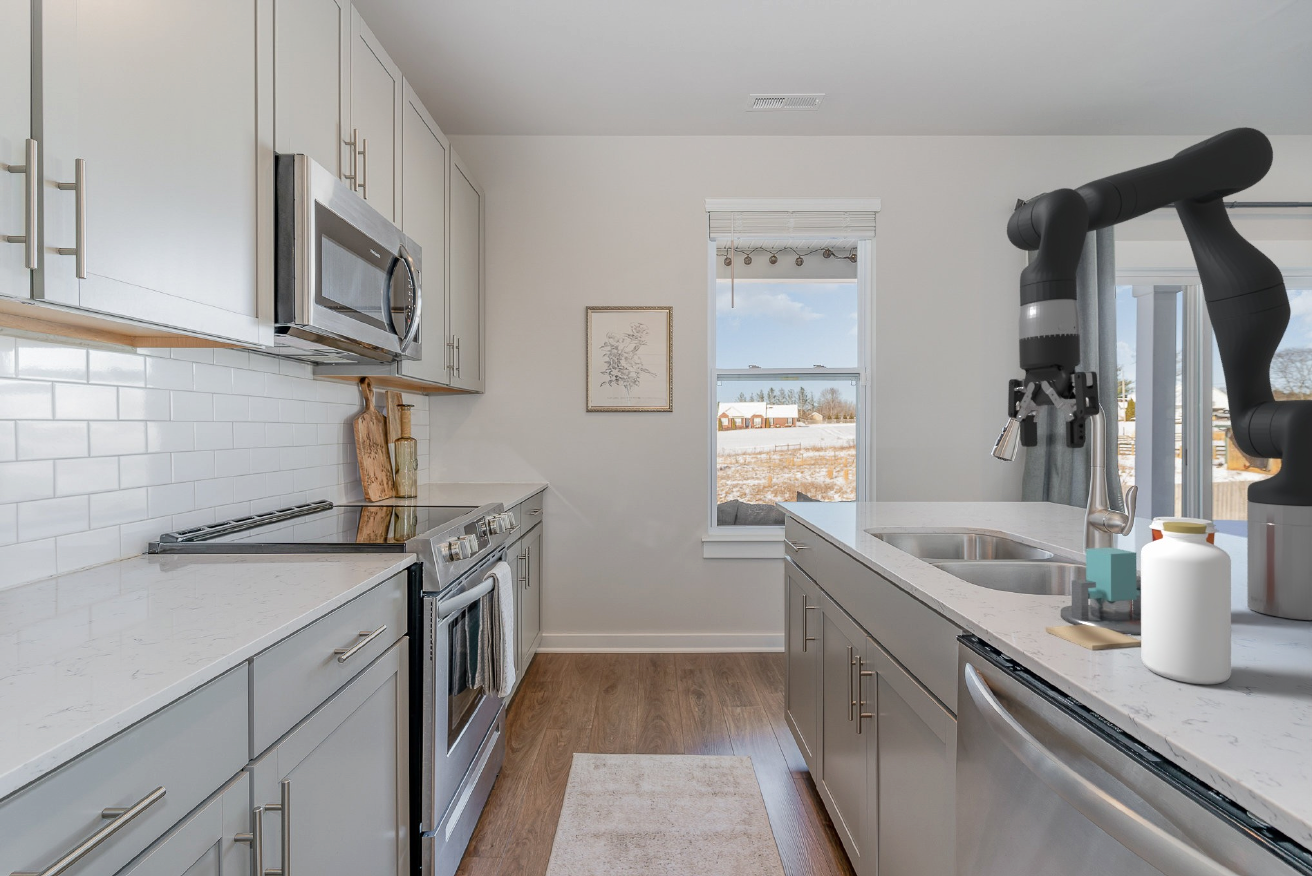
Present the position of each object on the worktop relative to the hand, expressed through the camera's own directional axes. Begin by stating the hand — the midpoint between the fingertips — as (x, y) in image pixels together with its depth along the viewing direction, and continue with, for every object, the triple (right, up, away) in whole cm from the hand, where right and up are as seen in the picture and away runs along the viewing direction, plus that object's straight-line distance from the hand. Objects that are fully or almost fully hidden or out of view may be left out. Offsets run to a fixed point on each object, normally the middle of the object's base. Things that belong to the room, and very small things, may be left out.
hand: (1051, 447), depth 94 cm
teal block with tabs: (+12, -23, +4) cm, 26 cm away
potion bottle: (+6, -27, -16) cm, 32 cm away
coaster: (+4, -27, -3) cm, 27 cm away
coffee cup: (+25, -27, +7) cm, 37 cm away
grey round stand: (+12, -27, +4) cm, 29 cm away
